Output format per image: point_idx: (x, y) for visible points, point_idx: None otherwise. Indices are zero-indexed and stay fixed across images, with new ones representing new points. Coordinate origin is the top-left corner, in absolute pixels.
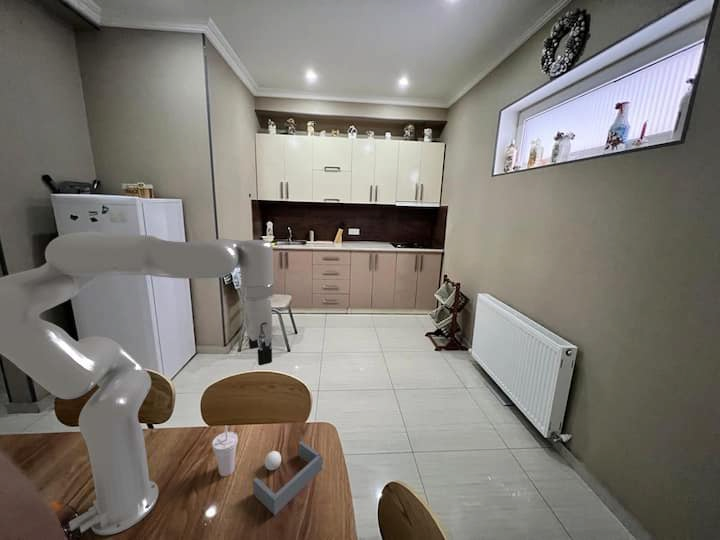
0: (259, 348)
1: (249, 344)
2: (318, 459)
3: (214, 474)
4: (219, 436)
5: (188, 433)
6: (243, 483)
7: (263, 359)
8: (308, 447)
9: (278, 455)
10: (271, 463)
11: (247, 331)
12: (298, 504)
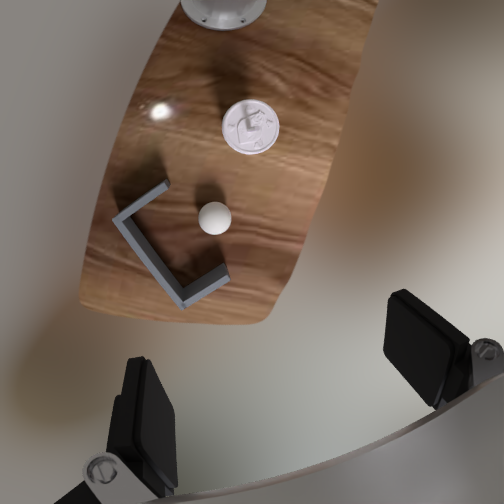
0: (119, 464)
1: (414, 303)
2: (175, 302)
3: None
4: (270, 114)
5: (358, 69)
6: (196, 160)
7: (115, 410)
8: (208, 290)
9: (212, 231)
10: (201, 216)
11: (387, 484)
12: (127, 249)
